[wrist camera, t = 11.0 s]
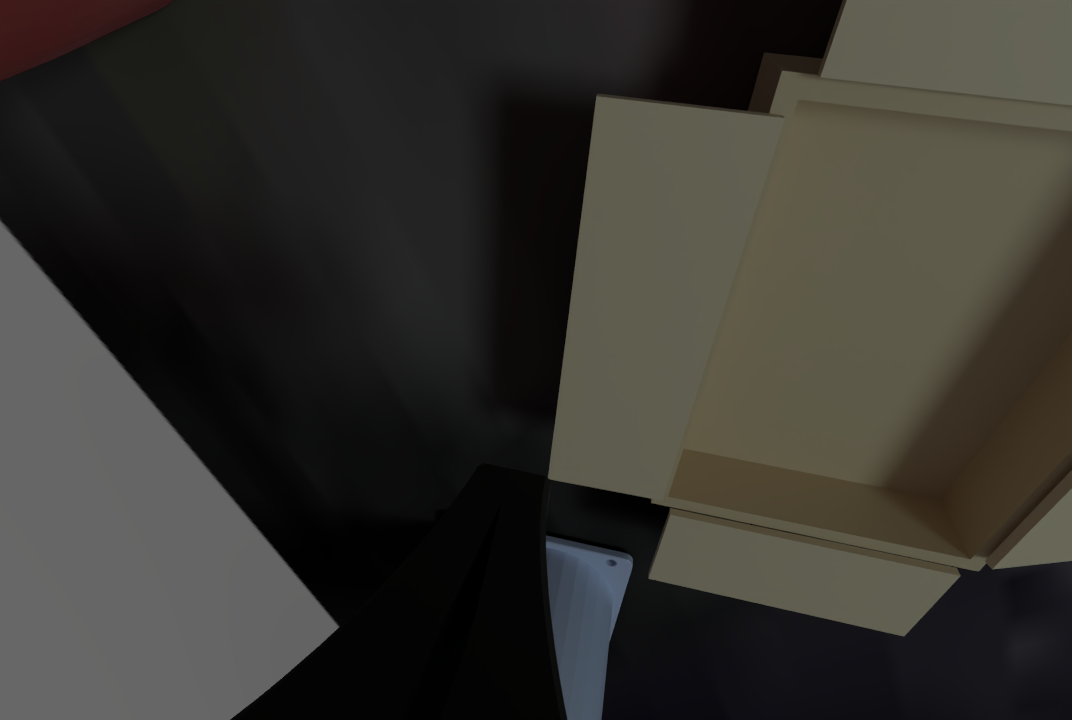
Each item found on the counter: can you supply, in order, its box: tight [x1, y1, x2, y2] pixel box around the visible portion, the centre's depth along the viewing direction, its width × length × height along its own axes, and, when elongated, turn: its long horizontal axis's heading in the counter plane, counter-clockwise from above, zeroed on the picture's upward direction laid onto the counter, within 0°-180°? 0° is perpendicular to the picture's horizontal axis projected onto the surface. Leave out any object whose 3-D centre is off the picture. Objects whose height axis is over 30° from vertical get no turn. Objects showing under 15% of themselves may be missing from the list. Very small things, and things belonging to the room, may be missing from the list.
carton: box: [648, 0, 1072, 636], centre depth 16 cm, size 11×22×3 cm, turn 176°
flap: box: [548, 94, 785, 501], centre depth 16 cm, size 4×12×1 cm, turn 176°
